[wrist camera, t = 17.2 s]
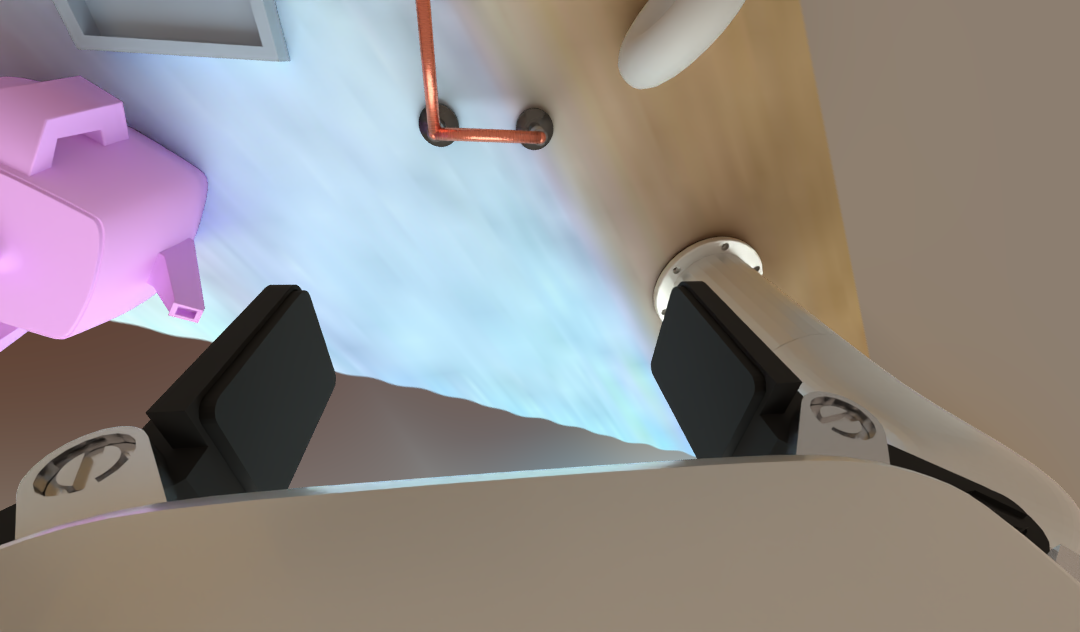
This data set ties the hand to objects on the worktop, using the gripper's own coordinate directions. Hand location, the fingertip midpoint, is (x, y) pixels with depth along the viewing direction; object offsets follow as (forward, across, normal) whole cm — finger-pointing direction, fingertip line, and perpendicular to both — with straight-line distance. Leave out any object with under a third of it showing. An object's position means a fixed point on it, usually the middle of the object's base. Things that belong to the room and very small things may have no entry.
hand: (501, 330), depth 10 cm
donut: (+28, -13, -9) cm, 32 cm away
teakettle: (+28, +31, +6) cm, 42 cm away
